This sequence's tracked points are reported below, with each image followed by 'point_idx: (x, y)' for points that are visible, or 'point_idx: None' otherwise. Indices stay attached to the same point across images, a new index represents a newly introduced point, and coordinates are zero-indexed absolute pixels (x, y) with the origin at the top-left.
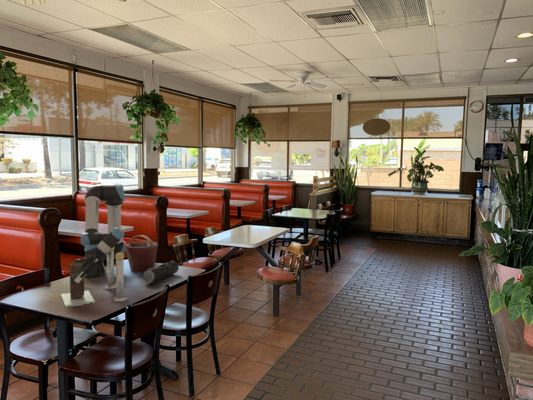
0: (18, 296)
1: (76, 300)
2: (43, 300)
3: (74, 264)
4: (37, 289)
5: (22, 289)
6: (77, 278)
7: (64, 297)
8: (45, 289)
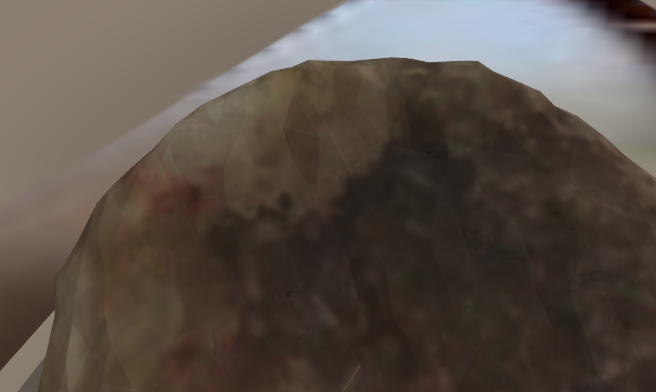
0: (509, 9)
1: None
2: None
3: (369, 276)
4: (636, 87)
5: (642, 24)
6: (35, 356)
7: None
8: (632, 127)
